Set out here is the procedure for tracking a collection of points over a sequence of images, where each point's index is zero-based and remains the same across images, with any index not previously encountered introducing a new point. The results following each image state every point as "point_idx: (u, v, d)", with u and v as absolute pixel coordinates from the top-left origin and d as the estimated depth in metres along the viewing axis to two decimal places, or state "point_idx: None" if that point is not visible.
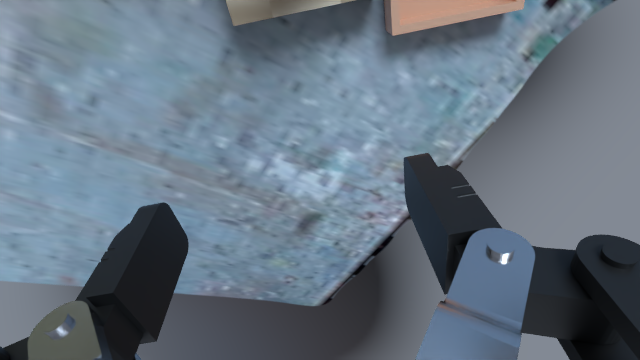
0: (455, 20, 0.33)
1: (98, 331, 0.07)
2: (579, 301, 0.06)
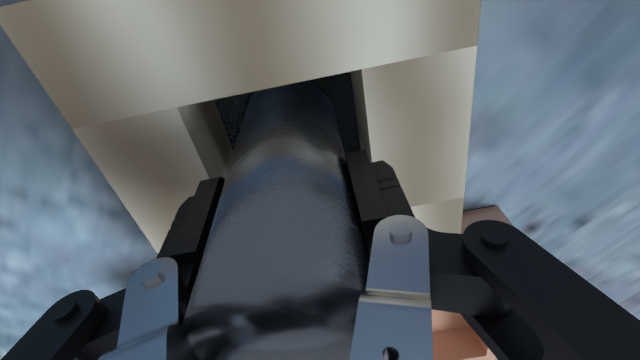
0: None
1: (181, 294, 0.07)
2: (462, 277, 0.07)
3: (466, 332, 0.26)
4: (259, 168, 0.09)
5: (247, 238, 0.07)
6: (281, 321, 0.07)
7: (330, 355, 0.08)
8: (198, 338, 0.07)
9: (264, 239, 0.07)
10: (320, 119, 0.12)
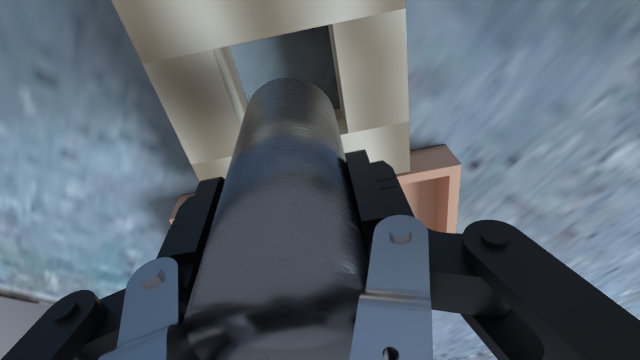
0: None
1: (181, 293, 0.07)
2: (461, 277, 0.07)
3: None
4: (259, 167, 0.09)
5: (247, 237, 0.07)
6: (280, 320, 0.07)
7: (329, 354, 0.08)
8: (198, 337, 0.07)
9: (264, 238, 0.07)
10: (320, 119, 0.12)
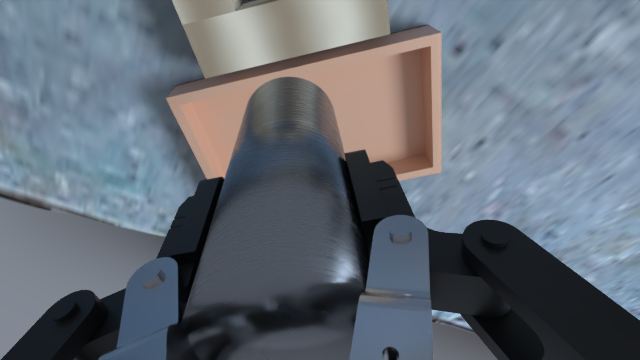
0: (201, 162, 0.30)
1: (180, 294, 0.07)
2: (461, 277, 0.07)
3: (420, 158, 0.34)
4: (258, 166, 0.09)
5: (246, 237, 0.07)
6: (280, 319, 0.07)
7: (329, 354, 0.08)
8: (197, 337, 0.07)
9: (263, 237, 0.07)
10: (320, 118, 0.12)
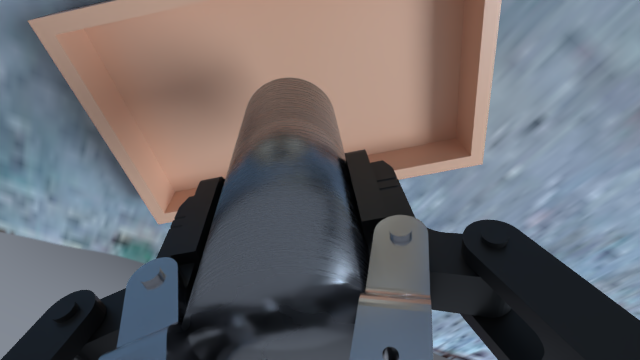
0: (107, 138, 0.19)
1: (181, 294, 0.07)
2: (462, 277, 0.07)
3: (449, 143, 0.23)
4: (259, 168, 0.09)
5: (247, 238, 0.07)
6: (280, 320, 0.07)
7: (329, 355, 0.08)
8: (198, 338, 0.07)
9: (264, 239, 0.07)
10: (320, 119, 0.12)
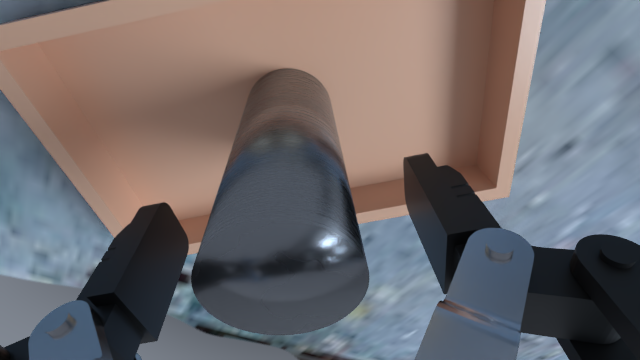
0: (69, 172, 0.16)
1: (99, 331, 0.07)
2: (578, 301, 0.06)
3: (469, 170, 0.20)
4: (259, 143, 0.10)
5: (248, 197, 0.08)
6: (276, 268, 0.08)
7: (321, 304, 0.09)
8: (205, 284, 0.08)
9: (263, 197, 0.08)
10: (316, 104, 0.13)
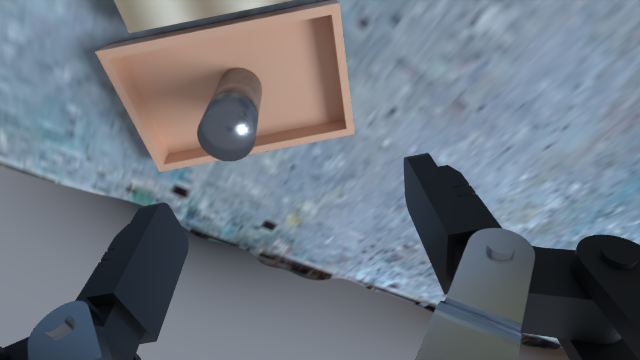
0: (132, 116, 0.33)
1: (98, 331, 0.07)
2: (579, 301, 0.06)
3: (338, 122, 0.38)
4: (220, 94, 0.28)
5: (215, 106, 0.25)
6: (224, 129, 0.25)
7: (240, 145, 0.26)
8: (201, 135, 0.26)
9: (219, 106, 0.25)
10: (247, 83, 0.31)
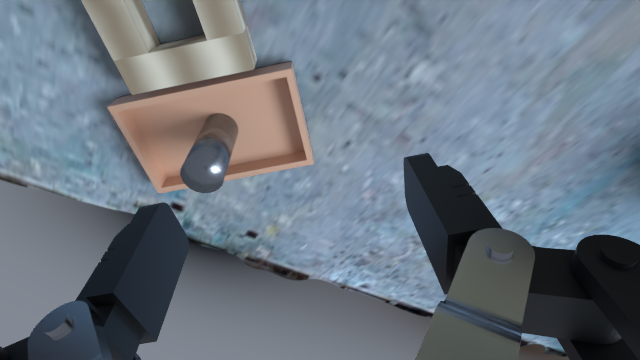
0: (136, 152, 0.42)
1: (98, 331, 0.07)
2: (579, 301, 0.06)
3: (302, 153, 0.46)
4: (199, 141, 0.36)
5: (193, 154, 0.34)
6: (199, 170, 0.34)
7: (213, 182, 0.35)
8: (183, 175, 0.34)
9: (196, 154, 0.34)
10: (223, 128, 0.40)
